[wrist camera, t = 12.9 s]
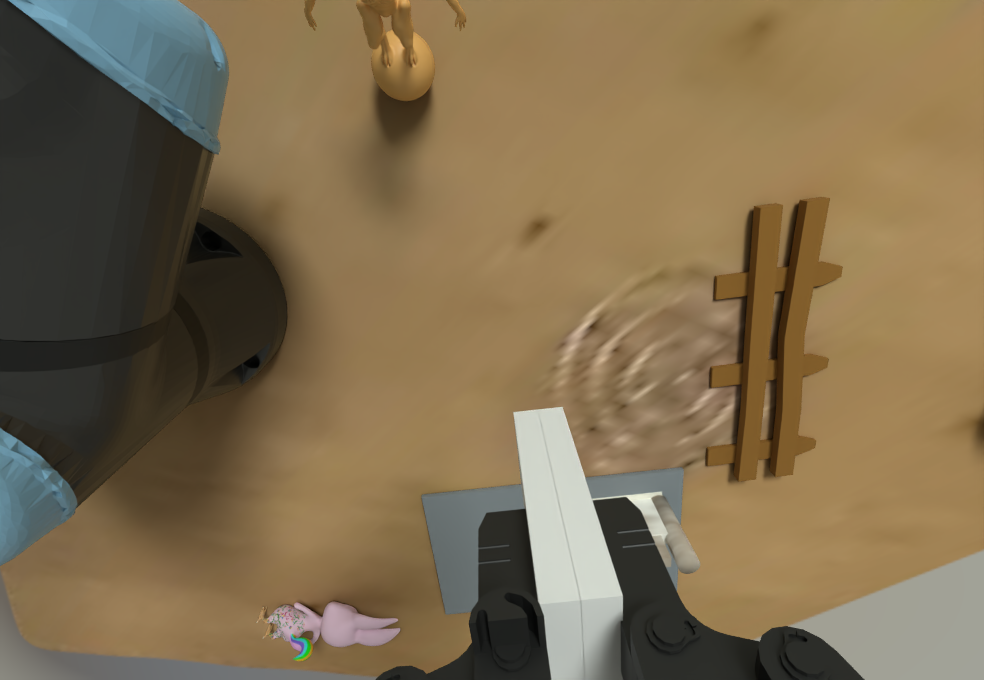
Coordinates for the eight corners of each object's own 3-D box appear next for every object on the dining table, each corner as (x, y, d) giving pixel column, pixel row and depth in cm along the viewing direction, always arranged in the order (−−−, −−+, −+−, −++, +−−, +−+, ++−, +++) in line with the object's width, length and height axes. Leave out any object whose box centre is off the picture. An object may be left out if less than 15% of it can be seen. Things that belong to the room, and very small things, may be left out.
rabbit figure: (283, 622, 54) (409, 630, 51) (251, 677, 49) (391, 688, 46) (267, 582, 52) (398, 588, 49) (232, 635, 46) (378, 645, 44)
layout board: (446, 611, 52) (445, 615, 51) (422, 494, 46) (421, 498, 45) (675, 587, 51) (677, 591, 51) (681, 467, 45) (684, 470, 45)
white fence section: (547, 522, 47) (562, 604, 39) (546, 503, 46) (561, 582, 38) (666, 510, 47) (706, 589, 39) (666, 490, 46) (708, 567, 38)
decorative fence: (702, 471, 46) (805, 458, 46) (711, 485, 45) (819, 471, 44) (714, 209, 37) (844, 191, 37) (726, 212, 35) (863, 193, 35)
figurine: (349, 103, 33) (283, 82, 22) (338, -1, 31) (258, -85, 19) (469, 103, 33) (465, 82, 22) (467, -1, 31) (461, -83, 20)
